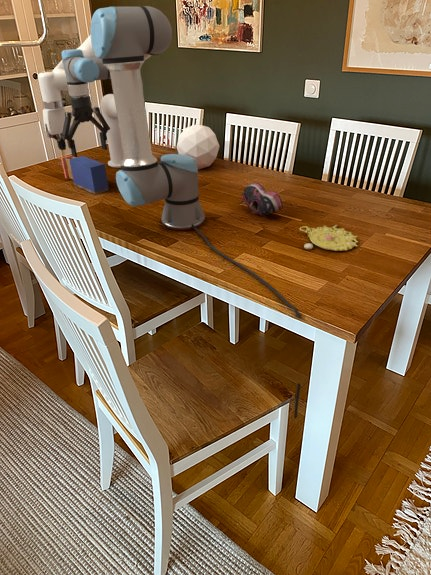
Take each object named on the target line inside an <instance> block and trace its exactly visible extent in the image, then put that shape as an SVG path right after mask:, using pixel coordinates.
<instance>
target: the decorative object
mask: <svg viewBox="0 0 431 575" xmlns="http://www.w3.org/2000/svg"><path fill="white" fill-rule="evenodd" d="M303 228H304V229H305V230H304V229H303ZM299 231H300V232H303V233H305V234H307V237H308V238H309V240H310V241H311V243H304V244H303V248H304V249H305V250H313V249H314V245H315V246H316V247H318V248H321V249H324V250H328V251H335V252H341V251H348V250H352V249H354V247H356V248H358V247H359V245H358V244H357V243H359V240H357V238H359V237H358V235H353V234H352V231H347V230H346V229H345V228H344V227H342V228H338V224H335V225H333V226H331V227H328V226H327V225H326V224H325V225H323V226H322V227H321V226H317V227H316V228H314V227H309V226H308V225H302V226H300V227H299ZM313 244H314V245H313Z"/></svg>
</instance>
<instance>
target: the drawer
mask: <svg viewBox="0 0 431 575" xmlns="http://www.w3.org/2000/svg"><path fill="white" fill-rule="evenodd" d="M73 158H76V157H74V156H72V154H70V155H69V154H68V155H65V156H60V160H61V161H58V162H56V163H57V164H56V165H57V166H58V167H62V169H63V173H64V179H66V180H67V179H70V180H73V175H72V171H71V166H70V161H69V159H73Z"/></svg>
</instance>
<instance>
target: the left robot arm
mask: <svg viewBox="0 0 431 575" xmlns="http://www.w3.org/2000/svg"><path fill="white" fill-rule="evenodd" d="M76 49H80V50H82V52H83V56H84V57H95V56H96V55H95V54H94V49H93V48H92V43H91V34H89V36H88V37H86V39H85V40H84V41H83V42H82V43H81V45H79V46H78V47H77V48H76ZM37 81H38V86H39V90H40V94H41V98H42V105H43V109H42V121H43V127H44V131H45V133H46V136H47V138H49V139H54V140H55V141H56V144H57V148H58V149H59V150H61V151H66V150H67V145H66V143H67V142H66V141H67V140H66V139H63V138H61V136H62V131H63V126H64V122H65V112H67V110H66V108H65V107H64V105H65V104H66V100H63V98H62V94H61V91H68V86H67V81H66V75H65V70H64V65H63V62H62V60H60V62H58V63H57V65H56V66H55V67H54V69H52V71H42V72H40V73H38V74H37ZM143 85H144V84H142V87H143ZM143 88H144V87H143ZM99 107H100V112H101V114H102V116H103V117H104V119H105V121H106V122H107V124H108V126H109V127H110V130H108V132H107V133H106V135H107V147H108V152H109V157H110V160H108V161H107V165H108V167H111V168H121V165H120V163H121V161H122V160H123V158H124V154H123V148H122V142H121V136H120V130H119V124H118V118H117V112H116V106H115V100H114V94H113V93H108V94H105V95H103V96H102V98H101V99H100V106H99ZM70 127H71V125H70ZM69 130H70V128H69Z"/></svg>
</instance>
